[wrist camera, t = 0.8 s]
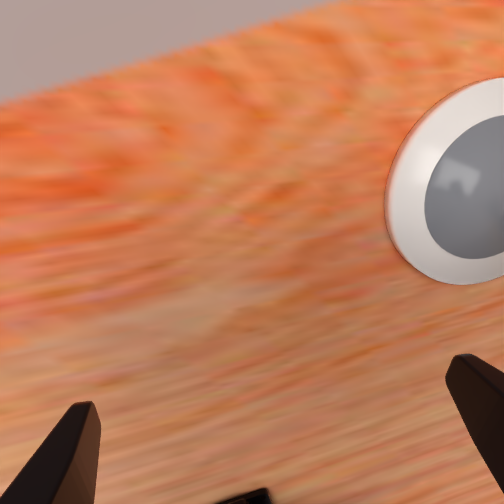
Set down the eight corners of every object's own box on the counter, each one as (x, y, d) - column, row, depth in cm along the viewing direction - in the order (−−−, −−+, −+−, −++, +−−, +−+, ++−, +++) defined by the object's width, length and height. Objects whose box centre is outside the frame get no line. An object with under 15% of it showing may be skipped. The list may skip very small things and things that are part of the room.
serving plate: (560, 246, 27) (579, 253, 26) (394, 299, 26) (405, 309, 25) (578, 51, 22) (602, 48, 20) (372, 112, 21) (384, 113, 20)
